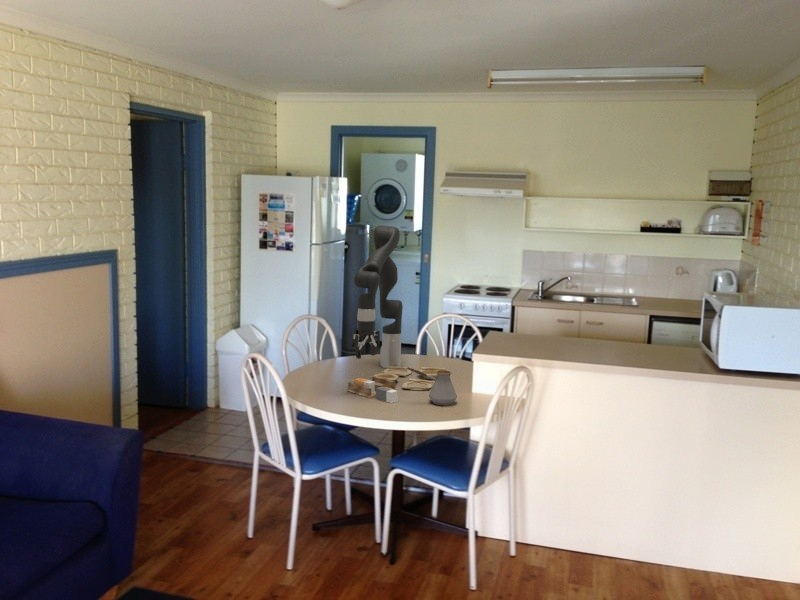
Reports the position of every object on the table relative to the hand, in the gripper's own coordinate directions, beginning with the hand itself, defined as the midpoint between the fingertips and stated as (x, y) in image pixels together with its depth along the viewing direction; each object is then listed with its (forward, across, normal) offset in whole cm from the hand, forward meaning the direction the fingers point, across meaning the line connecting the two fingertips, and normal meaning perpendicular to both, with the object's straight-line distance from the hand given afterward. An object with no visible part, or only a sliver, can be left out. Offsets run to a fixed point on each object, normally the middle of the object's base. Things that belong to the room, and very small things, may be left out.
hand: (365, 356), depth 291 cm
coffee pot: (+16, -10, +28) cm, 34 cm away
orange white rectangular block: (+15, 0, -1) cm, 15 cm away
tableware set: (+17, -30, -3) cm, 34 cm away
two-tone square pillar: (+16, 0, +13) cm, 20 cm away
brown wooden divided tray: (+16, -4, 0) cm, 17 cm away
